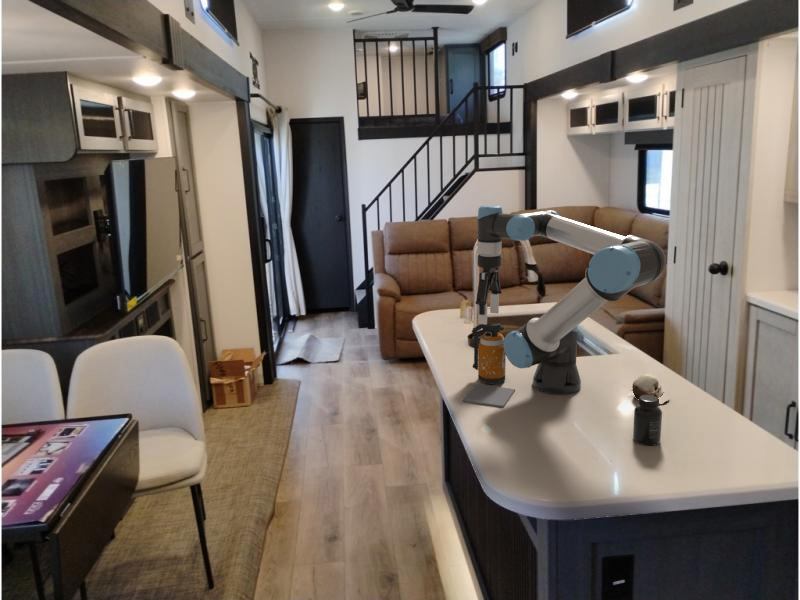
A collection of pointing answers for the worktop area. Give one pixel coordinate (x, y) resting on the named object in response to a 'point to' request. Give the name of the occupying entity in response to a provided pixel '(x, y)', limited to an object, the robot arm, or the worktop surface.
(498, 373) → the canister
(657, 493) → the worktop surface
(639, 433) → the supplement bottle
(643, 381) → the skull
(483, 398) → the mat
